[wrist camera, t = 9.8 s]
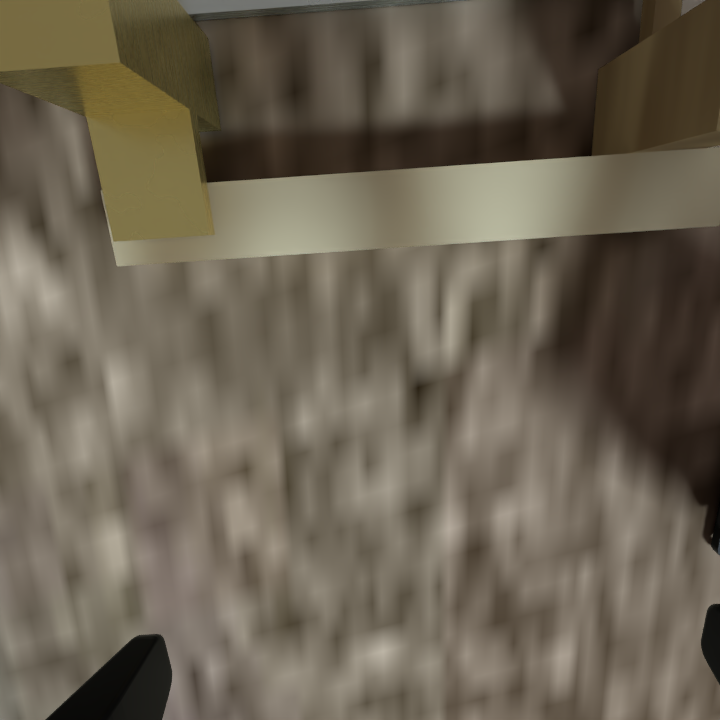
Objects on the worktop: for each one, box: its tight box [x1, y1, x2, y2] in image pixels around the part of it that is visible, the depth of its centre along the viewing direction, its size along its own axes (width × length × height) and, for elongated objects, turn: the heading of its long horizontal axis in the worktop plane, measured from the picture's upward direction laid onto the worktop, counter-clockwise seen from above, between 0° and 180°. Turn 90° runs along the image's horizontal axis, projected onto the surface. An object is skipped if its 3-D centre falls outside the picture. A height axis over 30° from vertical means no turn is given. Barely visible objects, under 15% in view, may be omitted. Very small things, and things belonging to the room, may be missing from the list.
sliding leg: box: [0, 0, 221, 242], centre depth 12 cm, size 3×11×7 cm, turn 4°
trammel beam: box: [100, 0, 720, 266], centre depth 13 cm, size 20×10×6 cm, turn 94°
